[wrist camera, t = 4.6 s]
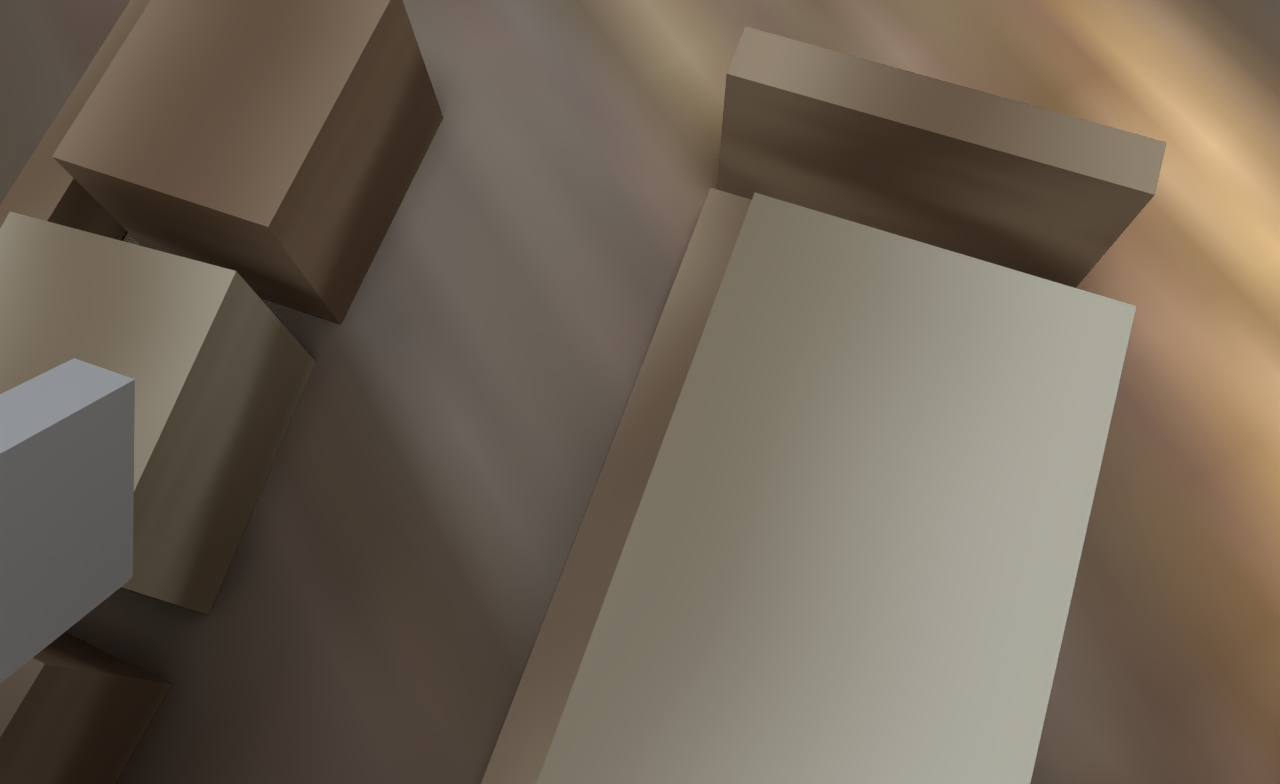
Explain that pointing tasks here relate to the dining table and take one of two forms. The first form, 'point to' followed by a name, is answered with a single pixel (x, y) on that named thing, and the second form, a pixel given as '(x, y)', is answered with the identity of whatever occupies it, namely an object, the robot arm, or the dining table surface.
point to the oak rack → (749, 163)
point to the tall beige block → (853, 523)
